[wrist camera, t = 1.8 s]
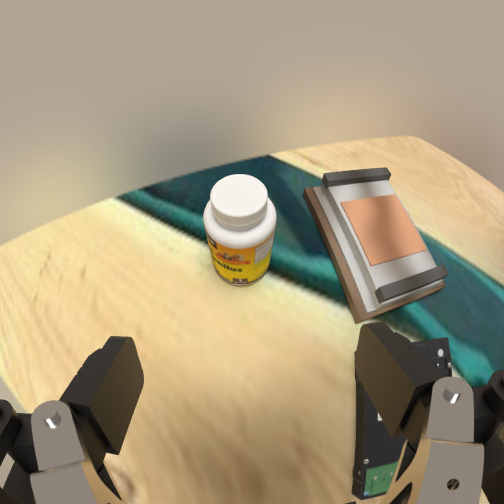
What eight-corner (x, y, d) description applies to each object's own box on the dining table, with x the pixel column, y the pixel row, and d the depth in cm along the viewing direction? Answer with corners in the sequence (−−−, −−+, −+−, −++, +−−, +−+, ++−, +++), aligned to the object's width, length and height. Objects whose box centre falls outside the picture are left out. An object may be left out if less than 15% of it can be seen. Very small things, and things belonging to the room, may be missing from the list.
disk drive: (350, 352, 24) (349, 494, 16) (360, 346, 21) (359, 503, 14) (434, 342, 24) (437, 467, 16) (448, 335, 21) (452, 470, 14)
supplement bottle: (202, 263, 27) (182, 195, 19) (240, 229, 30) (238, 155, 21) (242, 299, 26) (239, 242, 17) (281, 261, 28) (295, 192, 19)
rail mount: (383, 184, 34) (393, 163, 30) (439, 290, 26) (459, 275, 22) (303, 195, 32) (308, 171, 29) (355, 323, 24) (372, 310, 21)
